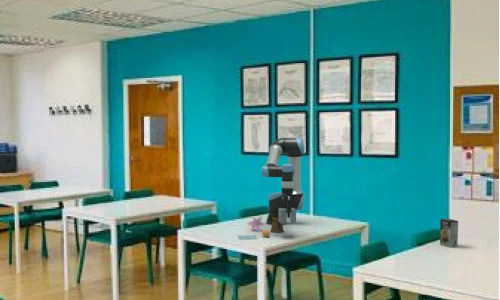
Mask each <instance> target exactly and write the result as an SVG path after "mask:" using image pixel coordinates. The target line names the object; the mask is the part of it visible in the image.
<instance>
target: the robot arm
mask: <svg viewBox="0 0 500 300" xmlns="http://www.w3.org/2000/svg"><path fill="white" fill-rule="evenodd" d="M268 152H269V155H268V158H267V161H266V165H263V166H262V167H261V176H262V177H264V178H281V182H280V184H281V191H279V192H273V193H270V194H268V215H267V216H266V217H267V218H266V222H265V223H266V224H267V225H271V226H272V218H273V215H279V214H278V212H279V208H287V211H286V222H291V208H294V209H296V211H302V210H303V208H304V205H305V194H304V192H303V191H302V187H301V186H302V183H301V182H302V181H301V177H302V176H301V175H302V174H301V173H302V172H301V163H302V162H301V161H302V160H301V158H302V157H303V155H304V154H305V153H306V152H305V144H304V139H303V138H302V137H280V138H277V139H276V140H274V141H273V142H272V143H271V144H270V145H269V148H268ZM282 154H283V155H286V157H287V158H288V163H284V164H282V165H279V161H280V157H281V155H282ZM278 165H279V166H278ZM284 225H285V224H283V226H284Z"/></svg>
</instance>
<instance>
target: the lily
mask: <svg viewBox="0 0 500 300" xmlns="http://www.w3.org/2000/svg"><path fill="white" fill-rule="evenodd" d="M262 220H263V215H261V216H259V217H257V218H256V217H254V216H253V217H252V220H250V221H248V222H247V223H246V224H247V225H248V226H250V232H252V231H254V230H256V231H257V232H261V227H262V226H265V225H266V224H265V223H264V222H262Z"/></svg>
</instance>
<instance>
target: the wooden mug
mask: <svg viewBox="0 0 500 300" xmlns="http://www.w3.org/2000/svg"><path fill="white" fill-rule="evenodd" d="M278 214H279V212H278ZM284 230H285V229H284V225H283V224H281V223H280V222H279V215H273V218H272V225H271V227H270V232H271V233H279V234H280V233H284V232H285V231H284Z"/></svg>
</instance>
